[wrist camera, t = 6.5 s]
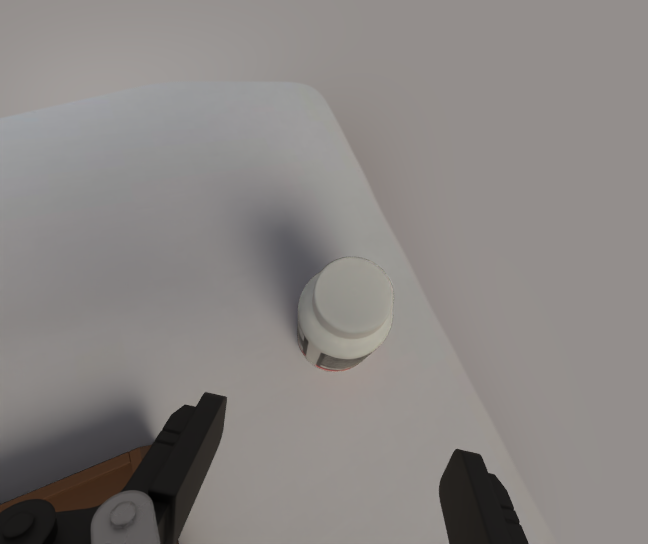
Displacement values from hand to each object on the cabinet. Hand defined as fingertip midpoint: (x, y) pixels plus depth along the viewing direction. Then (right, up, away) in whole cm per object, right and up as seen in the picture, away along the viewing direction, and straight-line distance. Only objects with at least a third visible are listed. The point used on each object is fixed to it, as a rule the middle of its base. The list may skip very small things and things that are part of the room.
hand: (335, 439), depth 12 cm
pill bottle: (0, +1, +14) cm, 14 cm away
